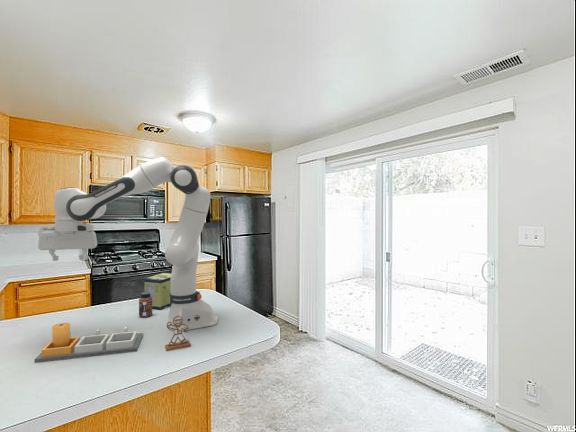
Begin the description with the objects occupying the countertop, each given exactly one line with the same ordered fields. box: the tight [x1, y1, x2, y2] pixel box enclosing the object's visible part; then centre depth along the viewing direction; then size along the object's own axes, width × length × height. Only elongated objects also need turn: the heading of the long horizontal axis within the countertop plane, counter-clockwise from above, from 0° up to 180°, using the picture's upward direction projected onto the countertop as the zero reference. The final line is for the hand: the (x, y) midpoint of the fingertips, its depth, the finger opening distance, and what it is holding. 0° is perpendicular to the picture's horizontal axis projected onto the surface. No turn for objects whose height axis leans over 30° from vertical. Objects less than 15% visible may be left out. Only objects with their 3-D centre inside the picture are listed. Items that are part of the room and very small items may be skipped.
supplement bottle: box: [138, 291, 153, 318], centre depth 151 cm, size 6×6×11 cm
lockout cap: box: [51, 322, 71, 348], centre depth 113 cm, size 5×5×9 cm
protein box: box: [144, 272, 172, 311], centre depth 168 cm, size 10×16×16 cm
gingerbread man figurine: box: [164, 316, 191, 352], centre depth 119 cm, size 9×4×12 cm, turn 118°
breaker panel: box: [33, 326, 144, 364], centre depth 118 cm, size 32×14×5 cm, turn 106°
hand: (68, 260), depth 129 cm, fingers open, 8 cm apart
